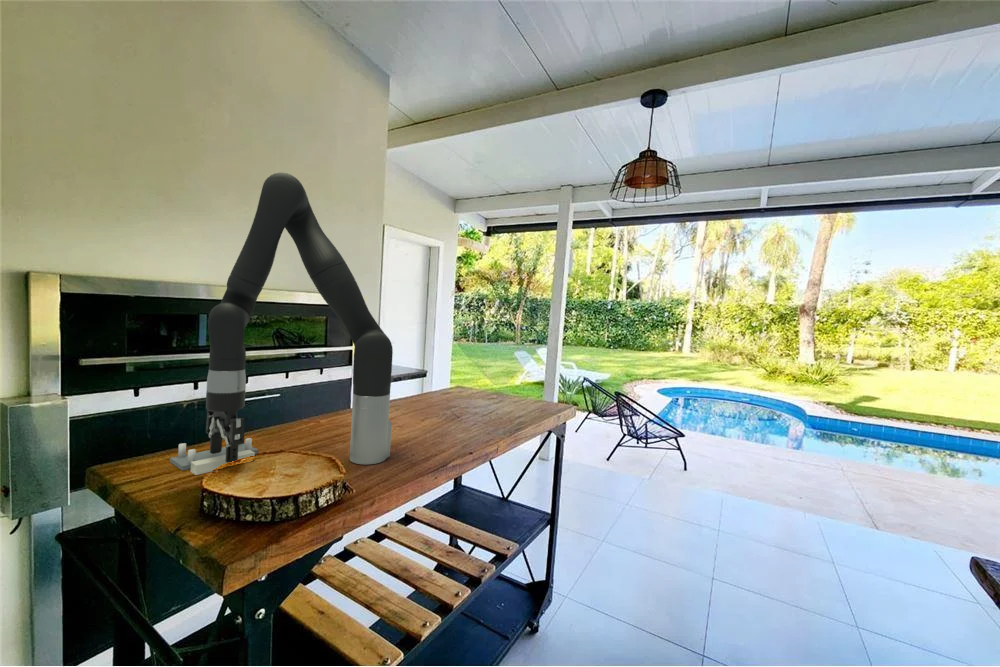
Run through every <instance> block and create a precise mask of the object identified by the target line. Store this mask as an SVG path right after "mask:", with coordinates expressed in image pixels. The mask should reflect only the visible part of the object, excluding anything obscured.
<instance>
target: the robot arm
mask: <svg viewBox="0 0 1000 667" xmlns="http://www.w3.org/2000/svg"><path fill="white" fill-rule="evenodd" d="M259 195H260V196H259V200H258V205H257V208H256V211H255V215H254V218H253V221H252V223H251V227H250V230H249V232H248V235H247V237H246V239H245V242H244V244H243V246H242V248H241V251H240V253H239V255H238V257H237V259H236V261H235V263H234V266H233V267H232V270H231V272H230V274H229V276H228V278H227V282H226V290H225V292H224V294H223V297H222V299H221V301H220V303H219V304H217V305H215V306H214V307H212V309H211V310H210V312H209V314H208V320H207V322H208V323H207V325H208V328H207V329H208V340H209V346H210V347H209V348H210V349H209V357H208V372H207V378H206V392H205V394H206V397H205V410H206V422H205V424H206V425H205V433H206V434H208V438H209V440H210V441H209V444H210V445H209V450H210V453H211V454H215V453H220V452H221V451H222V447H223V439H224V441H225V445H226V446H225V447H226V462H227V463H228V462H232V461H235V460H238V445H240V444H244V443H245V418H244V417H239V418H238V411H239V410H242V409H243V408H245V406H246V391H247V390H246V387H247V385H246V384H247V376H246V363H247V362H246V359H247V358H246V357H247V354H246V352H247V351H246V348H245V329H246V327H247V325H248V324H249V322H250V320H251V317H252V315H253V312H254V309H255V308H256V307H255V306H256V303H257V301H258V298H259V296H260V294H261V292H262V290H263V288H264V286H265V284H266V282H267V279H268V277H269V275H270V272H271V270H272V267H273V264H274V261H275V257H276V254H277V250H278V245H279V243H280V239H281V236H282V234H283V232H284V231H285V230H286V232H287V233H288V234H289V236H290V237H291V239H292V240H293V243H294V244H295V246H296V248H297V251H298V254H299V256H300V259H301V261H302V263H303V265H304V268H305V270H306V273H307V274H308V276H309V278H310V280H311V281H312V283H313V285H314V286H315V288H316V290H317V291H318V294H320V296H321V297H322V299H323V300H324V301H325V303H326V304H327V305H328V306H329V308H330V309H331V310H332V312H333V313H334V314H335V315H336V316H337V318H338V319H339V320H340V321H341V322H342V324H343V325H344V328H345V329H346V331H347V332H348V335H349V337H350V340H351V341H352V343H353V346H354V350H353V368H352V370H353V371H352V372H353V373H352V404H351V405H352V407H351V425H350V426H351V428H350V443H349V445H350V447H349V461H350V462H351V463H353V464H358V465H375V464H380V463H383V462H385V461H386V459H388V458H390V457H391V443H392V442H391V440H392V425H393V424H392V421H391V420H390V404H391V401H390V399H391V388H392V387H391V386H392V371H393V370H392V368H393V355H394V352H393V351H394V350H393V345H392V344H393V343H392V342H391V339H390V338H389V336H388V335H387V334H386V333H385V332H384V330H383V329H382V328H381V327H380V325H379V323H378V322H377V320H376V318H374V317H373V315H372V313H371V311H370V310H369V308H368V305H367V303H366V301H365V298H364V296H363V294H362V292H361V289H360V287H359V284H358V282H357V281H356V279H355V277H354V275H353V273H352V271H351V270H350V267H349V266H348V264H347V262H346V260H345V259H344V258H343V256H342V254H341V253H340V251H339V250H338V249H337V248H336V246H335V245H334V244H333V242H332V241H331V240H330V239H329V237H328V236H327V235H326V234H325V232H324V231H323V229H322V227H321V226H320V223H319V221H318V219H317V217H316V214H315V213H314V211H313V209H312V206H311V204H310V200H309V198H308V195H307V192H306V190H305V188H304V186H303V183H301V181H300V180H299V179H298V178H297V177H295V176H294V175H292V174H290V173H287V172H277V173H276V172H275V173H273V174H271V175H269V176H268V177H267V178H266V179H265V180H264V182H263V184H262V187H261V193H260V194H259ZM239 434H240V439H239Z"/></svg>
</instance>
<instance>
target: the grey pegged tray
mask: <svg viewBox="0 0 1000 667" xmlns="http://www.w3.org/2000/svg"><path fill="white" fill-rule="evenodd" d="M239 439H240V434H239ZM252 441H253V439H252V437H247V438H244V444H240V445H238V452H241V451H245V450H251V451H253V452H255V455H257V454H259V448H256V447H255V446H254V447H253V446H252V443H253V442H252ZM226 447H227V446H222V451H221V452H220V453H215V454H211V453H210V449H209V450H203V451H199V452H197V450H196V448H191V449H188V450H187V443H185V442H184V443H182V442H181V443H179V444H178V454H177V455H178V456H174V457H173V456H172V457H170V458H169V463H170V464H172V465H174V466H175V467H176V468H178V469H179V470H181V471H182V472H183V471H186V470H187V471H188V470H191V462H194V461H198V460H203V459H208V458H212V457H217V456H222V455H226Z"/></svg>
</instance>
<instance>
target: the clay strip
mask: <svg viewBox="0 0 1000 667" xmlns="http://www.w3.org/2000/svg"><path fill="white" fill-rule="evenodd" d="M250 456H255V457H256V454H255V452H253V451H251V450H245V451H241V452H238V459H241V458H246V457H250ZM225 463H227V462H226V455H222V456H217V457H212V458H208V459H203V460H198V461H194V462H191V469H190V473H192V474H193V475H195V476H197V475H198V476H199V475H202V474H208V473H211V472H214V471H213V470H214V469H216V468H217V467H219V466H221V465H222V464H225Z"/></svg>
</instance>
